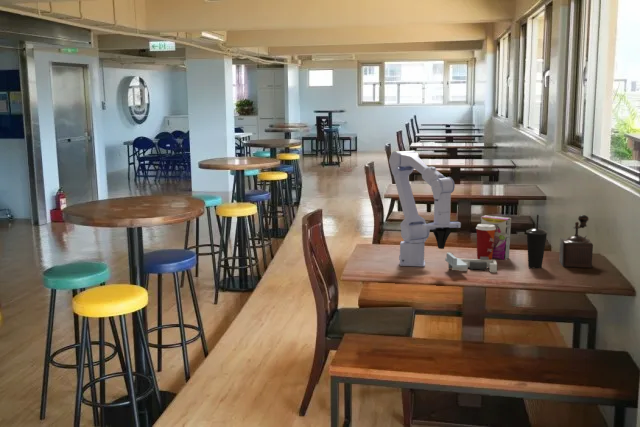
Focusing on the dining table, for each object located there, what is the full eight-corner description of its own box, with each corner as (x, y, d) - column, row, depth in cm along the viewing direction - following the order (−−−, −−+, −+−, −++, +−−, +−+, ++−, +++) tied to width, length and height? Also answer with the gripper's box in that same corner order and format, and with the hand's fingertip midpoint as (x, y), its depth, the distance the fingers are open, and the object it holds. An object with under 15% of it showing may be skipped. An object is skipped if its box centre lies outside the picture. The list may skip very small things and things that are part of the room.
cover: (445, 260, 249) (445, 251, 249) (458, 259, 250) (458, 251, 249) (453, 267, 239) (453, 258, 238) (467, 267, 239) (467, 258, 238)
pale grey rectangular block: (448, 270, 248) (449, 255, 247) (448, 265, 256) (448, 251, 255) (496, 272, 245) (497, 257, 244) (494, 266, 253) (495, 252, 252)
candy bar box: (478, 256, 269) (479, 216, 266) (482, 254, 273) (484, 214, 270) (505, 260, 263) (507, 219, 260) (509, 258, 267) (511, 217, 264)
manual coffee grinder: (594, 268, 250) (597, 221, 247) (563, 267, 252) (566, 220, 249) (585, 258, 266) (588, 214, 262) (556, 257, 267) (558, 213, 264)
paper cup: (495, 262, 259) (496, 227, 257) (474, 262, 260) (476, 226, 258) (493, 258, 267) (495, 223, 264) (474, 257, 268) (475, 223, 266)
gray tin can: (469, 268, 252) (469, 270, 249) (469, 260, 251) (470, 262, 248) (485, 268, 251) (486, 271, 248) (486, 261, 250) (486, 263, 247)
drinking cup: (523, 268, 251) (526, 215, 247) (525, 263, 258) (527, 212, 254) (545, 270, 248) (548, 217, 245) (545, 265, 255) (548, 213, 252)
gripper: (429, 214, 234) (428, 252, 236) (465, 211, 238) (464, 249, 241) (420, 211, 240) (419, 248, 242) (455, 208, 245) (454, 245, 247)
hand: (440, 248), depth 242 cm, fingers closed
